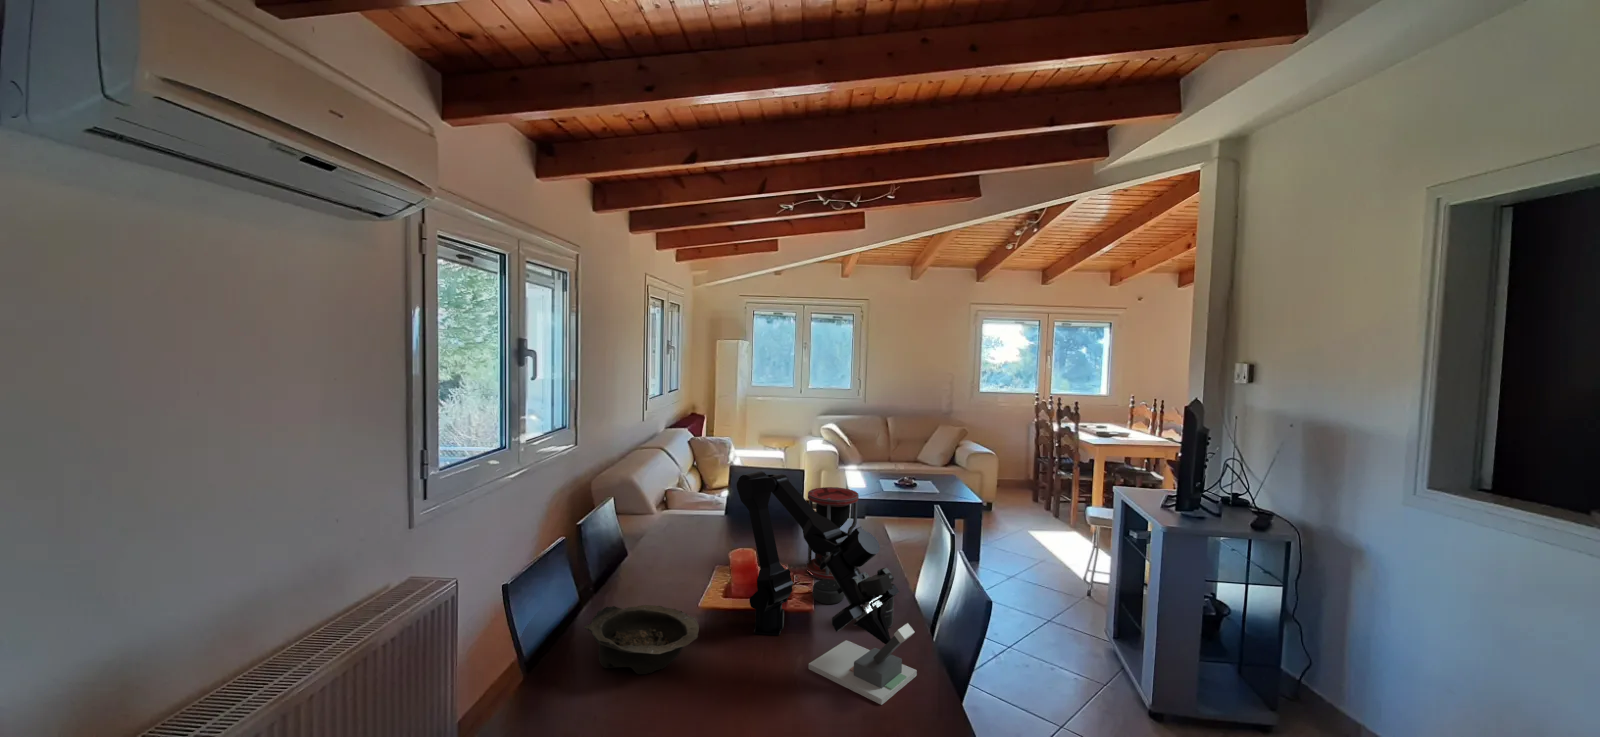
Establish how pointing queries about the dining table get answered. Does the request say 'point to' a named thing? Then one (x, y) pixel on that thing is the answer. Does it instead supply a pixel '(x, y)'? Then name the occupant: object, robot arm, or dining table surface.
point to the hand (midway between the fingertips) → (888, 643)
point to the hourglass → (837, 510)
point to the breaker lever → (894, 642)
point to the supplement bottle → (889, 611)
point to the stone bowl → (641, 636)
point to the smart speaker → (827, 592)
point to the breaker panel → (846, 678)
